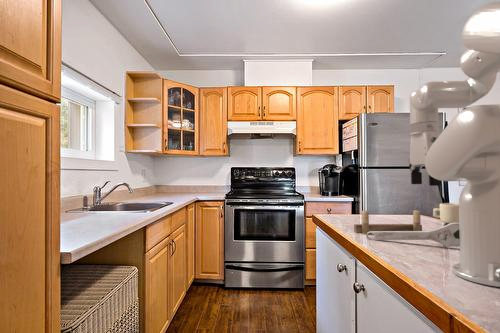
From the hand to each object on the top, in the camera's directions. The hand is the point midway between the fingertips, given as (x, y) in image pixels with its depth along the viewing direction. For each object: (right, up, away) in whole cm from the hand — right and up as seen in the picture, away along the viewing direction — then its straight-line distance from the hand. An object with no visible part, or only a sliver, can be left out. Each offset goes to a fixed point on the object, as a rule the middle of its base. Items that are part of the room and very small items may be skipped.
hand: (425, 184), depth 85 cm
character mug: (+15, -21, +9) cm, 27 cm away
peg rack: (+1, -21, +23) cm, 31 cm away
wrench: (0, -21, +7) cm, 22 cm away
